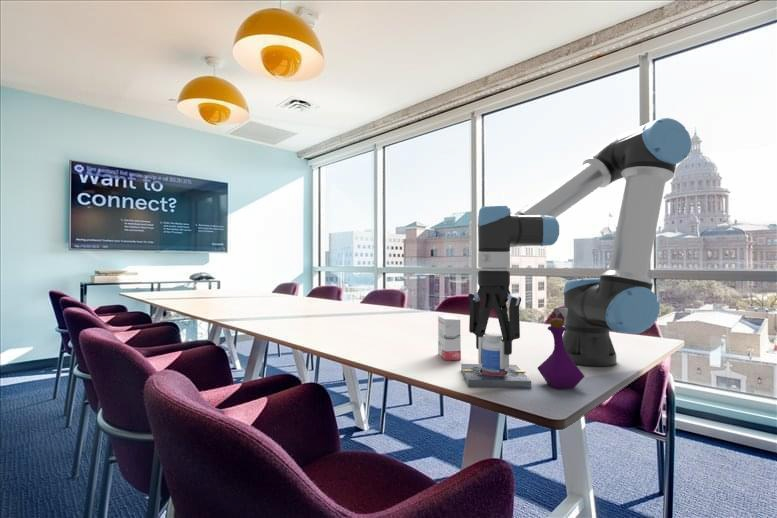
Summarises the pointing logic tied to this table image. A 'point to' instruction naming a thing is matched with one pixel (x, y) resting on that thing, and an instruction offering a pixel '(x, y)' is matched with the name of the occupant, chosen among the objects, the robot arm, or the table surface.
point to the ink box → (449, 338)
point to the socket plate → (495, 377)
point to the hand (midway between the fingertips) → (493, 365)
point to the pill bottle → (492, 355)
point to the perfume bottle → (560, 359)
